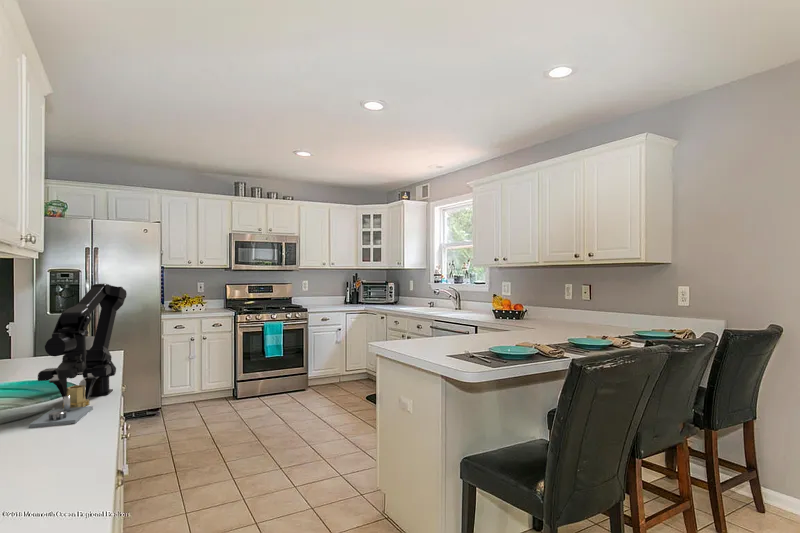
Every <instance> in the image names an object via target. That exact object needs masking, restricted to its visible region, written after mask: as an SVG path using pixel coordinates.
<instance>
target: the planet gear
mask: <svg viewBox="0 0 800 533" xmlns="http://www.w3.org/2000/svg"><path fill="white" fill-rule="evenodd" d="M85 390H86V387H85V386H84V385H79V384H78V385H77V384H76V385H71V386H67V388H66V393H67V396H70V408H75V407H86V406H89V405H90V399H88V398H87V399H86V398H85ZM62 409H64V402H63V403H62Z"/></svg>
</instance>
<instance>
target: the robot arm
mask: <svg viewBox="0 0 800 533" xmlns="http://www.w3.org/2000/svg"><path fill="white" fill-rule="evenodd" d="M126 298H127V290H126V289H125V288H123V286H115V285H111V284H108V283H94V284H92V285H91V286H90V289H89V291H87V292H86V294H85V295H84V296H83V297H82V298H81V299H80V300H79V302H78V303H77V304H76V305H74V306H72V307H69V308H66V309H65V310H64V311H63V312H61V313H60V314H59V317H58V319H57V322H56V324H55V326H54V329H53V332H52V334H51V338H49V339H48V340H47V341H46V343H45V345H44V350H45V352H46V354H47V355H49V356H50V357H60V356H62V355H63V356H62V361H61V362H60V363H59V365H58V366H57V367H54V368H53V367H52V368H51V367H50V368H49V367H48V368H45V369H42V370H41V371H39V372H38V374H37V382H44V381H45V382H47V381H48V382H49V383H50V384H54V385H55V386H56V388H57V389H58V391H59V393H60V395H61V397H62V400H64V396H67V393H66V388H68V379H74V378H76V377H78V376H82V378H86V379H85V381H86V387H85V400H87V399H88V398H89V397H98V396H108V395H109V394H110V393H112V392H113V391H114V389H113V388H110V377H114V376H115V375H116V374H117V373H116V372H117V367H116V365H115V364H114V363H113V361H112V355H111V353H110V350H109V346H110V342H111V339H112V338H111V337H112V333H113V328H114V324H115V320H116V316H117V312H118V311H119V309H120V308H121V307H122V306H124V302H125V300H126ZM98 305H99V306H100V308H101V309H100V312H99V316H98V321H97V325H96V329H95V333H94V336H95V337H94V341H93V345H92V347H91V348H90V349H89V350H86V337H87V335H88V334H89V331H88V330H87V327H88V326H89V325H90V323H91V321H92V316H91V314H92V313H93V311H94V310H95V309H96V308H97V306H98Z"/></svg>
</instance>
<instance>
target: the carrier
mask: <svg viewBox="0 0 800 533" xmlns="http://www.w3.org/2000/svg"><path fill="white" fill-rule="evenodd" d="M63 403H64V409H63V408H54V409H50V410H49V411H47V412H46V413H44V414H42V415H41V416H40V417H39V418H38V417H37V419H35V420H34V421H32V422H31V423H29V428H31V429H33V428H44V427H52V426H64V425H71V423H75V424H77V423H78V422H79V421H80V420H82V419H83V418H84V417H85V416H87V415H88V414H89V413H90V412H91V411H92V410H94V409H93V408H94V406H93V405H90V406H89V405H86V406H85V407H75V408H70V396H64V399H63ZM88 412H89V413H88ZM87 413H88V414H87ZM83 416H84V417H83ZM82 417H83V418H82ZM81 418H82V419H81ZM77 421H78V422H77ZM76 422H77V423H76Z"/></svg>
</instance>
